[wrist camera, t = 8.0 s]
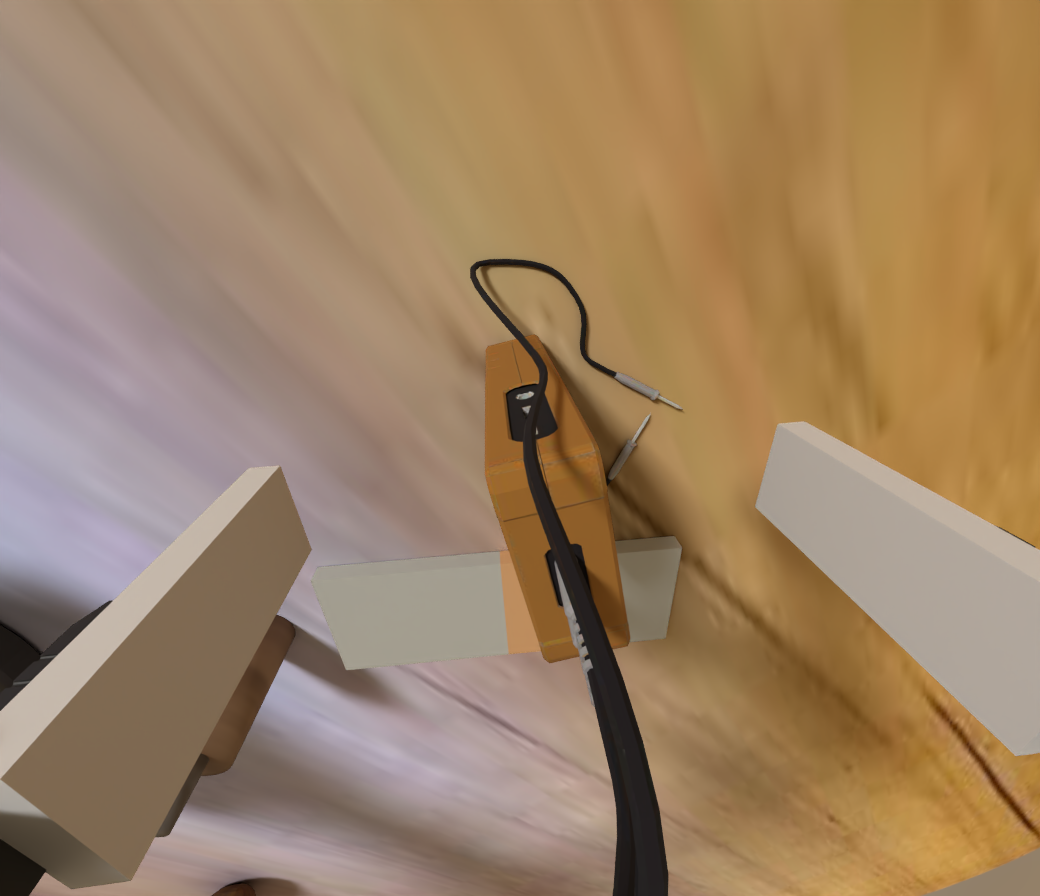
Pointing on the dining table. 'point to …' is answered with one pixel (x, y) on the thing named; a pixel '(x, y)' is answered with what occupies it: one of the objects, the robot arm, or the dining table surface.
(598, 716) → the multimeter
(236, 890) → the potato
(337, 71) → the dining table surface
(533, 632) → the panel
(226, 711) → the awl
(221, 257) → the dining table surface
